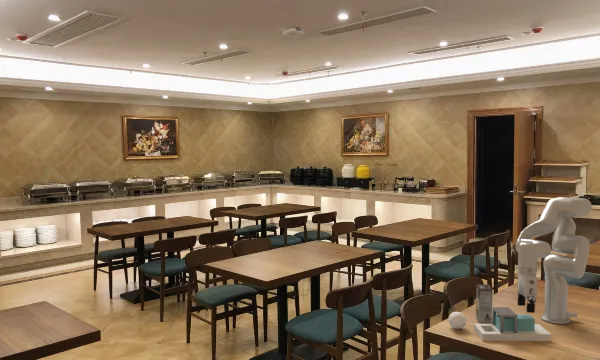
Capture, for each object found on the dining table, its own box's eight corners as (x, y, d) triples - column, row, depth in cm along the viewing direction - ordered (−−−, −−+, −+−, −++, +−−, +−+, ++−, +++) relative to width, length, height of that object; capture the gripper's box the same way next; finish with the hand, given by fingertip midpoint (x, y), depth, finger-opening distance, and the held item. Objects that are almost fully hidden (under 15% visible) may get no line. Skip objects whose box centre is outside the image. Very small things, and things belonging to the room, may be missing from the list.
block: (529, 326, 216) (529, 314, 216) (534, 331, 211) (534, 318, 211) (495, 326, 217) (495, 314, 216) (499, 330, 212) (499, 318, 211)
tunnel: (508, 324, 219) (508, 307, 219) (517, 333, 209) (517, 315, 208) (492, 324, 220) (492, 307, 219) (500, 333, 209) (500, 315, 209)
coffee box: (475, 315, 240) (475, 283, 238) (489, 316, 238) (489, 284, 237) (478, 322, 231) (478, 289, 229) (492, 323, 229) (493, 289, 228)
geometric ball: (459, 335, 221) (461, 326, 216) (444, 325, 226) (445, 316, 221) (468, 324, 225) (470, 314, 220) (453, 315, 230) (454, 305, 225)
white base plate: (538, 330, 219) (538, 324, 219) (550, 341, 207) (551, 334, 207) (473, 330, 221) (473, 323, 221) (482, 340, 209) (482, 333, 209)
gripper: (544, 275, 203) (543, 315, 204) (527, 266, 220) (526, 303, 221) (526, 275, 203) (525, 315, 204) (510, 265, 221) (509, 302, 221)
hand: (525, 308), depth 213 cm, fingers open, 9 cm apart
